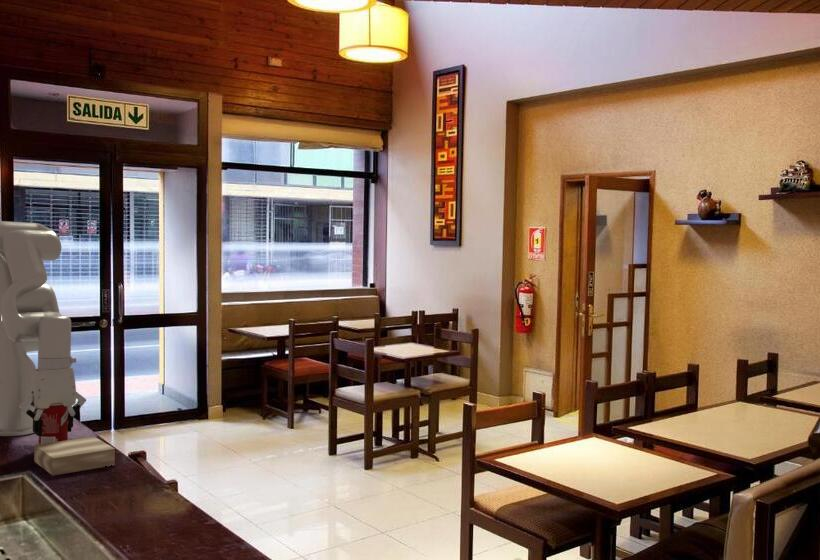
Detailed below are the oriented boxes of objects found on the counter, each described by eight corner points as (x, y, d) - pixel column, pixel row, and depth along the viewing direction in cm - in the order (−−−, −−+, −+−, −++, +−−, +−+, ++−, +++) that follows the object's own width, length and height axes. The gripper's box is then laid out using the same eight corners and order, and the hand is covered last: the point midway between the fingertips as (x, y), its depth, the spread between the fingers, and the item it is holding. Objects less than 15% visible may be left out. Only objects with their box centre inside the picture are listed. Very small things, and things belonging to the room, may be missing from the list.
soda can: (55, 453, 185) (56, 405, 185) (32, 450, 186) (33, 403, 186) (73, 446, 192) (74, 400, 191) (50, 443, 193) (51, 398, 193)
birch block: (34, 461, 178) (34, 445, 177) (93, 452, 187) (94, 436, 187) (52, 475, 167) (52, 458, 167) (114, 465, 177) (115, 448, 177)
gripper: (84, 359, 197) (83, 425, 198) (12, 364, 185) (11, 434, 186) (94, 363, 191) (93, 431, 192) (21, 368, 180) (20, 441, 180)
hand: (53, 432), depth 189 cm, fingers closed on soda can, 6 cm apart
